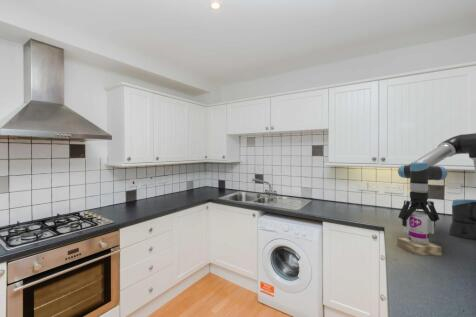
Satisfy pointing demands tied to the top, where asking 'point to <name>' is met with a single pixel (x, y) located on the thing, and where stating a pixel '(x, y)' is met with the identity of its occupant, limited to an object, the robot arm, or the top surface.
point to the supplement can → (419, 228)
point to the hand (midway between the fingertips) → (418, 232)
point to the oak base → (419, 247)
